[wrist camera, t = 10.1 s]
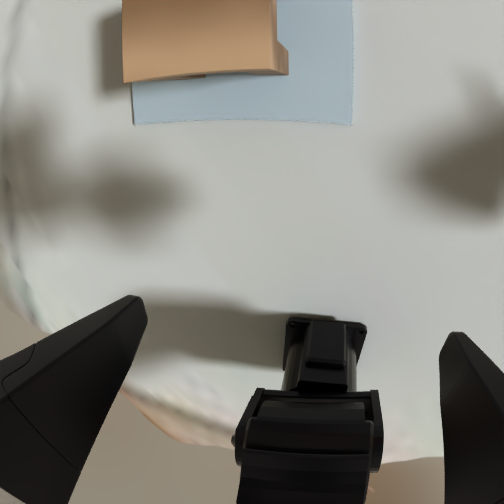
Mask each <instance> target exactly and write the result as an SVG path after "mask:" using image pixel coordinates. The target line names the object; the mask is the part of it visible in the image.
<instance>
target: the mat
mask: <svg viewBox="0 0 504 504" xmlns="http://www.w3.org/2000/svg"><path fill="white" fill-rule="evenodd" d="M276 2H277V40H278V41H279V42H280V43H281V44H282V45H283V46H284V47H285V48H286V49H287V50H288V55H289V75H259V74H253V73H248V72H229V73H214V74H205V78H197V79H187V80H163V81H144V82H132V95H133V109H134V122H135V125H139V124H150V123H162V122H176V121H195V120H229V119H255V120H290V121H309V122H323V123H335V124H346V125H352V104H353V5H352V0H276Z"/></svg>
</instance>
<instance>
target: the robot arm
mask: <svg viewBox="0 0 504 504" xmlns="http://www.w3.org/2000/svg"><path fill="white" fill-rule="evenodd" d="M291 323H294V325H293V324H291ZM146 326H147V314H146V310H145V307H144V303H143V300H142V298H141V297H139V296H134V295H127V296H125V297H123V298H121V299H119V300H117V301H115V302H114V303H112V304H110V305H108V306H106V307H104V308H102V309H100V310H98V311H96V312H94V313H92V314H90V315H88V316H86V317H84V318H82V319H80V320H79V321H77V322H75V323H73V324H71V325H69V326H67V327H65V328H63V329H61V330H59V331H57V332H56V333H54V334H52V335H50V336H48V337H46V338H44V339H43V340H40V341H38V342H37V343H36V344H33V345H31V346H29V347H27V348H25V349H23V350H21V351H19V352H17V353H15V354H13V355H11V356H9V357H7V358H4V359H3V360H0V504H68V502H69V500H70V497H71V495H72V492H73V490H74V488H75V485H76V483H77V481H78V478H79V476H80V474H81V471H82V469H83V466H84V464H85V462H86V460H87V457H88V455H89V453H90V451H91V448H92V446H93V444H94V442H95V439H96V437H97V435H98V433H99V431H100V428H101V427H102V424H103V422H104V420H105V418H106V416H107V414H108V412H109V409H110V408H111V405H112V403H113V401H114V399H115V397H116V395H117V393H118V391H119V389H120V387H121V385H122V383H123V381H124V379H125V377H126V375H127V373H128V371H129V369H130V367H131V364H132V362H133V360H134V357H135V354H136V352H137V349H138V346H139V344H140V341H141V338H142V336H143V333H144V331H145V328H146ZM359 330H363V331H359ZM366 334H367V327H366V326H365V325H363V324H353V323H342V322H331V321H321V320H311V319H302V318H289V319H288V320H287V324H286V335H285V347H284V359H283V370H284V371H285V373H284V378H283V383H282V388H281V390H266V389H265V388H257V389H256V391H255V393H254V395H253V396H252V397H251V399H250V401H249V403H248V405H247V407H246V410H245V412H244V414H243V416H242V418H241V420H240V422H239V424H238V426H237V428H236V431H235V433H234V435H233V436H232V439H231V443H232V444H233V446H234V447H235V459H236V463H237V465H238V466H241V475H240V484H239V489H238V495H237V501H236V503H237V504H364V503H365V500H366V494H367V488H368V482H369V475H370V473H377V472H378V471H379V468H380V464H381V460H382V453H383V441H384V430H383V421H382V414H381V407H380V400H379V393H378V390H370V391H363V392H356V366H357V363H358V360H359V357H360V354H361V350H362V347H363V344H364V341H365V337H366ZM439 371H440V406H441V417H442V429H443V443H444V465H445V502H444V503H445V504H504V373H503V372H502V371H501V370H500V369H499V368H498V367H497V366H496V365H495V363H494V362H493V361H492V360H491V359H490V358H489V357H488V356H487V355H486V354H485V353H484V352H483V351H482V350H481V349H480V348H479V347H478V346H477V345H476V344H475V343H474V342H473V341H472V340H471V339H470V338H469V337H468V336H467V335H466V334H465V333H463V332H451V333H450V334H449V335H448V337H447V339H446V341H445V343H444V345H443V347H442V349H441V351H440V355H439Z"/></svg>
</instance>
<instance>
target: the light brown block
mask: <svg viewBox="0 0 504 504" xmlns="http://www.w3.org/2000/svg"><path fill="white" fill-rule="evenodd" d="M122 55H123V78H124V83H131V82H144V81H163V80H187V79H197V78H205V74H214V73H229V72H248V73H253V74H259V75H289V55H288V50H287V49H286V48H285V47H284V46H283V45H282V44H281V43H280V42H279V41H278V40H277V2H276V0H122Z"/></svg>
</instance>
